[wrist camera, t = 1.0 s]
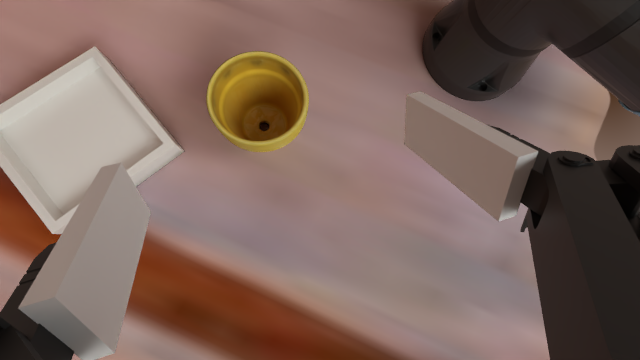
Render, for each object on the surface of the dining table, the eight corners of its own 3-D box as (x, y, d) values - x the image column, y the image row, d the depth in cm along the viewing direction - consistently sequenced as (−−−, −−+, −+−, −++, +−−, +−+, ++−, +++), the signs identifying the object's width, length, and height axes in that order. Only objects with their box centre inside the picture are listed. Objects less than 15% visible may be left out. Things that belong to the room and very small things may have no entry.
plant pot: (274, 181, 39) (269, 165, 29) (209, 136, 39) (183, 106, 29) (319, 120, 41) (328, 86, 31) (257, 77, 41) (247, 31, 31)
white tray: (109, 59, 39) (94, 46, 36) (184, 151, 38) (175, 144, 35) (-6, 132, 37) (-32, 124, 34) (72, 233, 36) (52, 234, 33)
